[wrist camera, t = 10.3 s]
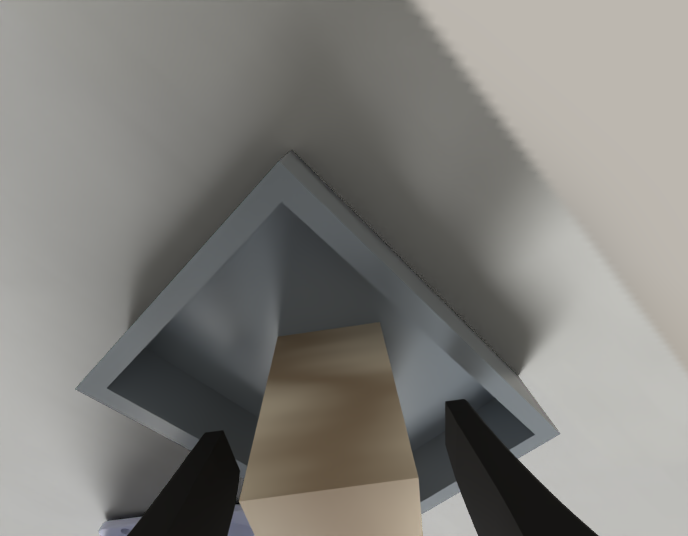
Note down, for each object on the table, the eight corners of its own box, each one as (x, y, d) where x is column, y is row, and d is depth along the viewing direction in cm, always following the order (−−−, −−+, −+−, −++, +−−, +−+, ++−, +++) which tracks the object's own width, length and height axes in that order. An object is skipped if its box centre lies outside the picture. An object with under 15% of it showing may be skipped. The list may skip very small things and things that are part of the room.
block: (298, 410, 14) (279, 589, 9) (277, 336, 13) (238, 501, 7) (388, 397, 14) (425, 570, 9) (379, 321, 13) (418, 477, 7)
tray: (362, 479, 18) (368, 545, 15) (127, 333, 13) (75, 389, 11) (519, 376, 15) (560, 433, 12) (291, 149, 11) (278, 161, 8)
